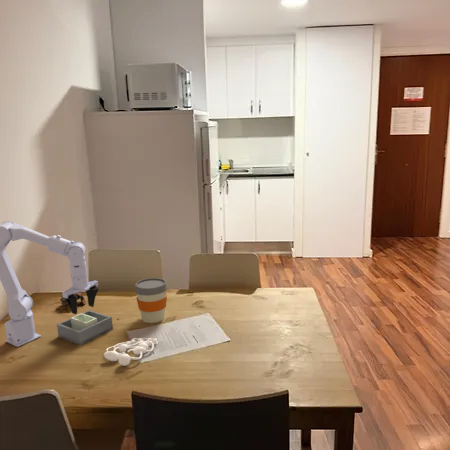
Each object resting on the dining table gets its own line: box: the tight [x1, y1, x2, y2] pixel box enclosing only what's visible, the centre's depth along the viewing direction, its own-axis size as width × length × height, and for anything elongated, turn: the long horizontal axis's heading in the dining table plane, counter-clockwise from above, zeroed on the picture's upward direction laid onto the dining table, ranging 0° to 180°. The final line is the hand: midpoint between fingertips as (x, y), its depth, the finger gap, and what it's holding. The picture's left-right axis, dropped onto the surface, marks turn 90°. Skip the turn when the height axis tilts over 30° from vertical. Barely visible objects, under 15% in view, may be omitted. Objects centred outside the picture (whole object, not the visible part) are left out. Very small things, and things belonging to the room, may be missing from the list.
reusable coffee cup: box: [134, 277, 168, 324], centre depth 178 cm, size 13×13×15 cm
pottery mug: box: [59, 292, 86, 307], centre depth 197 cm, size 12×10×8 cm
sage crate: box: [70, 312, 97, 331], centre depth 168 cm, size 5×9×5 cm, turn 55°
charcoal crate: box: [56, 309, 114, 346], centre depth 168 cm, size 15×13×5 cm
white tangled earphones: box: [103, 337, 159, 367], centre depth 153 cm, size 19×14×4 cm
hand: (83, 309), depth 167 cm, fingers open, 7 cm apart
